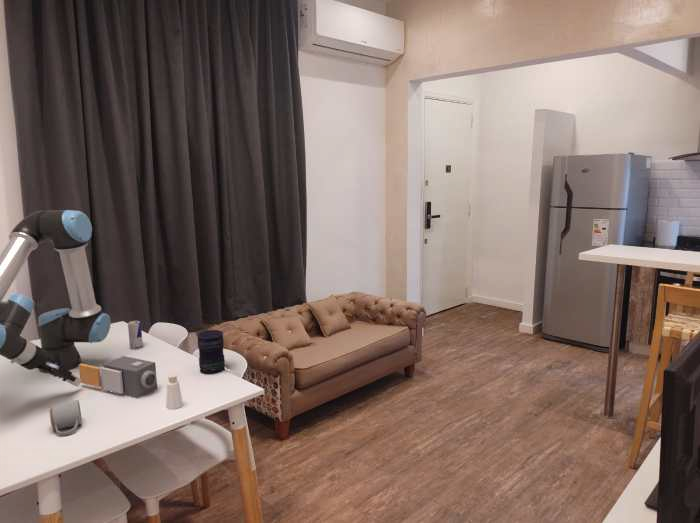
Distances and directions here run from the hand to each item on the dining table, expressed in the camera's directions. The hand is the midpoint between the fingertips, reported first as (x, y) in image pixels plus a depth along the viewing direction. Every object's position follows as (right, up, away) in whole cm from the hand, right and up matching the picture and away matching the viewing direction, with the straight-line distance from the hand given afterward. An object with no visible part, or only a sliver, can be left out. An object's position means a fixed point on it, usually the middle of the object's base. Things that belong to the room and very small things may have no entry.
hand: (78, 382), depth 182 cm
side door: (+8, -2, 0) cm, 9 cm away
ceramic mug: (+11, -8, -25) cm, 29 cm away
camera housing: (+19, -3, +1) cm, 20 cm away
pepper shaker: (+39, -5, -12) cm, 41 cm away
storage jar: (+43, +1, +19) cm, 47 cm away
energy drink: (+2, +5, +44) cm, 44 cm away
